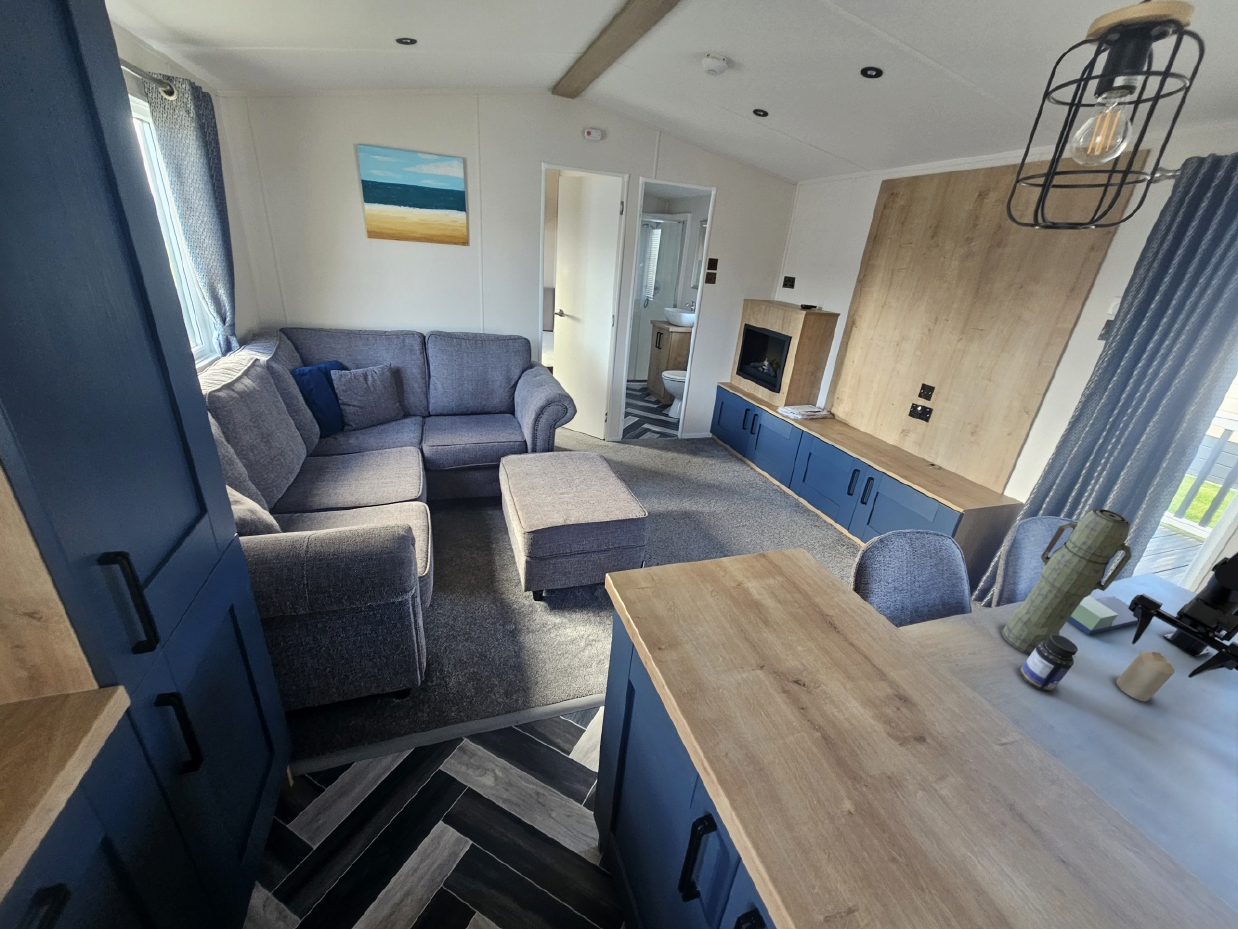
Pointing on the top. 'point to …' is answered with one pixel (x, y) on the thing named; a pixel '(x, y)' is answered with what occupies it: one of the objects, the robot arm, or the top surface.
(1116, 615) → the stand
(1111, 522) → the thermos
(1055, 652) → the pill bottle
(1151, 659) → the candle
